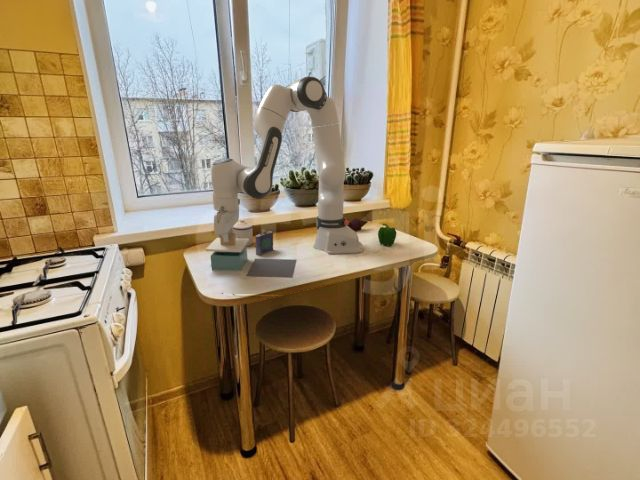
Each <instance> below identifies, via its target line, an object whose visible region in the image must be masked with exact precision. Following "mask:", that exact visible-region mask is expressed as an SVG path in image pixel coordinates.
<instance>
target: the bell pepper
mask: <svg viewBox="0 0 640 480" xmlns="http://www.w3.org/2000/svg"><path fill="white" fill-rule="evenodd" d="M383 226H385V227H383ZM377 237H378V242H379V244H380V245H382V244H384V245H383V246H386V245H391V246H392V245H394V244H395V240H396V238H397V230H396V228H395V227H391V226H389V224H387V223H382V226H380V227H379V229H378V231H377Z"/></svg>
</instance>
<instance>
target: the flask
mask: <svg viewBox="0 0 640 480" xmlns="http://www.w3.org/2000/svg"><path fill="white" fill-rule="evenodd" d="M254 238H255V255H256V256H262V255H264V254H267V253H270V252H272V251H274V232H273V231H272V230H267V231H266V230H265V228H262V229H261V233H258V234H256V235H255V237H254Z"/></svg>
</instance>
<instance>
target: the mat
mask: <svg viewBox="0 0 640 480" xmlns="http://www.w3.org/2000/svg"><path fill="white" fill-rule="evenodd" d="M296 264H297V259H287V258H286V259H284V258H256V257H255V259H254V260H253V262H252V263H251V265H250V267H249V269H248V270H247V273H246V274H245V277H254V278H255V277H259V278H260V277H261V278H289V279H290V278H291V279H293V277H294V273H295V269H296Z"/></svg>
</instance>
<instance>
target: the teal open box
mask: <svg viewBox="0 0 640 480" xmlns="http://www.w3.org/2000/svg"><path fill="white" fill-rule="evenodd" d="M247 261H248V246H247V247H246V246H245V247H244V249H243V250H242V252H217V251H213V253H211V254H210V263H211V264H210V265H211V271H212V272H213V271H214V270H217V271H219V270H221V271H223V270H224V271H242V269H243V267H244V266H245V264H246V263H247Z"/></svg>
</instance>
